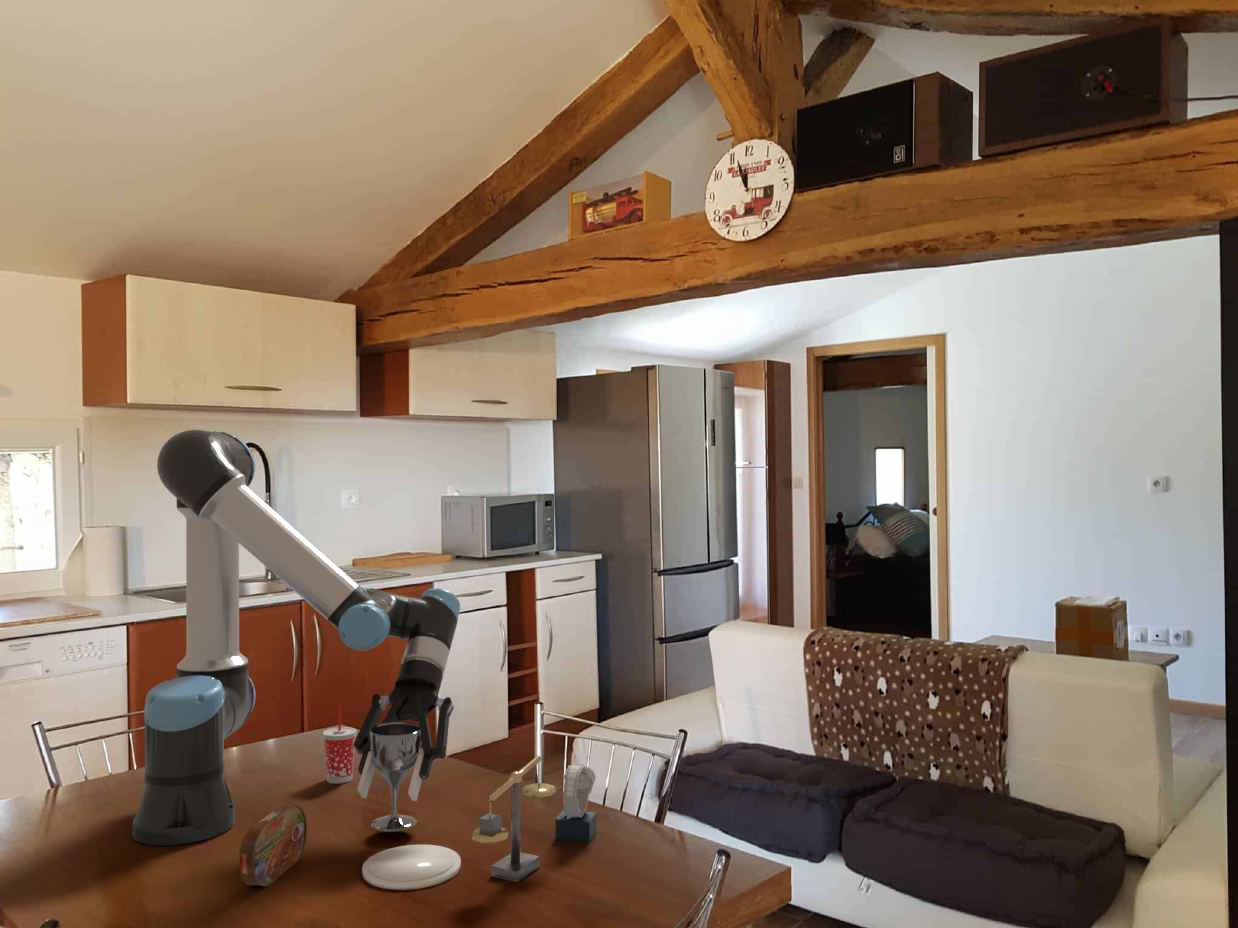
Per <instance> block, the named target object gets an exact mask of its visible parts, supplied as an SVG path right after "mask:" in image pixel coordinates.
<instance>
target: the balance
mask: <svg viewBox="0 0 1238 928" xmlns="http://www.w3.org/2000/svg"><path fill="white" fill-rule="evenodd" d="M541 761H542V756H541V755H536V756H535V757H534V758H533V759H531V760H530V761H529V762H528V763H527V764H526V765H524V766H523V767H522V768H521V769H520V770H518V771H513V772H511V773H510V775H509V779H508V780H506V781H505V782H504V783H503V784H501V786H500V787H498V788H497V789H496V790H495V791H493V793H492V794H490V795H489V796H488V797H487V800H488V802H489V812H488V813H486V814H484V815H483V816H481V817H479V820H478V822H479V823H478V825H479V826H478V828H477V829H474V830H473V831H472V835H471V838H472V840H473V841H475V842H476V843H479V844H496V843H497V844H498V843H501V842H503V841H506V840H507V839H508V838H509V836H510V853H509V854H508V855H506V856H504V857H503V858H502V859H500V860H498V861H497V862H495V863H493V864H492V865H490V866H491V867H490V869H491V870H490V872H491V873H490V874H491V875H490V877H493V878H496V879H500V880H501V879H502V880H505V881H510V882H514V883H518V882H520V881H521V880H523V879H524V878H526V877H527V876H528V875H530V874H531V873H532V872H534V871H536V870H537V869H538V868H540V864H541V863H540V861H541V860H540V858H541V856H539V855H536V854H535V855H534V854H530V853H526V852H525V853H524V852H522V851H521V850H522V849H521V846H522V845H521V843H522V842H521V841H522V839H521V837H522V836H521V834H522V833H521V829H522V828H521V827H522V826H521V822H522V821H521V820H522V819H521V809H522V808H521V807H522V806H521V803H522V802H521V800H522V799H521V797H522V796H521V794H522V795H523V796H525V797H529V798H532V799H533V798H535V799H537V798H538V799H542V798H547V797H551V796H553V795H555V794H556V791H557V789H556V786H555V785H553V784H549V783H544V782H543V783H542V782H541V779H540V776H541V774H540V773H541V771H540V769H541V768H540V767H541V766H540V765H541V764H540V763H541ZM535 766H537V783H530V784H527V785H524V786H523V787H522V785H521V784H522V783H521V782H522V781H523V780H522V779H523V776H524V775H526V774H527V773H528V772H529V771H530V770H532V769H533V768H534V767H535ZM521 787H522V789H521ZM509 789H510V835H509V830H508V829H507V828H505V827H502V825H503V824H502V823H503V822H502V818H503V817H502V815H500V814H495V813H492V803H493V802H495V800H497V799H498V798H499V797H500V796H501V795H503V794H504V793H505V792H506V791H507V790H509ZM521 791H522V792H521Z"/></svg>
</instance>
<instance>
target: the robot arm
mask: <svg viewBox="0 0 1238 928" xmlns="http://www.w3.org/2000/svg"><path fill="white" fill-rule="evenodd" d="M255 462H256V461H255V458H254V455H253V453H252V451H251V450H250V448H249V447H248V445H247V444H246V443H245V442H244V441H242V440H241V439H239V438H238V437H236V436H234V435H232V434H230V433H227V432H224V431H223V432H221V431H215V430H214V431H208V430H207V431H206V430H202V429H201V430H200V429H190V430H189V429H187V430H184V431H181V432H179V433H177V434H174V435H173V436H172V437H170V438H169V439H168V440H167V441H165V443H164V444H163V446H162V447H161V449H160V451H159V454H158V457H157V463H156V466H157V473H158V477H159V480H160V482H161V483H162V484H163V486H164V487H165V488H166V489H167V491H168V492H170V493H171V495H172V496H174V497H175V498H176V509H177V511H178V512H179V513H180V514H182V515H183V516H184V518H185V523H186V525H185V528H186V529H185V531H186V532H185V533H186V534H185V535H186V536H185V538H186V540H185V543H186V544H185V545H186V546H185V547H186V548H185V549H186V552H185V553H186V554H185V555H186V559H185V560H186V566H185V567H186V568H185V569H186V570H185V571H186V573H185V574H186V576H185V579H186V581H185V582H186V583H185V584H186V587H185V588H186V591H185V592H186V595H185V597H186V598H185V599H186V615H185V617H186V619H185V620H186V622H185V623H186V628H185V629H186V631H185V632H186V637H185V638H186V645H185V646H186V651H185V652H186V654H185V656H184V657H183V658H182V659H181V660H180V662H178V663H177V664H176V677H175V678H172V680H165V681H162V682H160V683H158V684H156V685H154V687H152V688H151V689H150V690H149V691H148V692H147V694H146V696H145V706H144V708H143V709H144V711H143V719H144V787H143V791H142V793H141V796H140V800H139V804H138V807H137V810H136V813H135V815H134V817H133V821H132V838H133V839H134V840H135V841H136V842H138V843H141V844H145V845H150V846H176V845H178V846H179V845H184V844H190V843H191V844H192V843H197V842H201V841H204V840H208V839H211V838H214V837H217V836H219V835H221V834H224V833H225V832H227V831H229V830H230V829H231V828H232V827H233V826H234V825H235V823H236V808H235V804H234V803H233V799H232V796H231V793H230V790H229V787H228V785H227V782H226V779H225V775H224V755H225V754H224V753H225V751H224V749H225V748H224V747H225V746H224V744H225V743H224V741H225V740H227V739H228V737H229V736H231V735H233V734H234V733H235V732H237V731H239V730H240V729H241V727H242V726H243V725H245V724H246V722H247V721H248V719H249V717H251V714H252V711H254V706H255V703H256V689H255V685H254V682H253V680H252V678H251V677H250V676H249V659H248V658H247V657H246V656H245V655H243V654H242V653H241V652H240V545H241V546H242V547H243V548H244V549H245V550H246V551H248V552H249V553H250V554H251V555H253V557H254V558H255V559H257V560H258V561H259V562H260V563H261V564H263V565H264V566H265V567H266V568H267V569H268V570H270V571H271V572H272V573H273V574H274V575H276V577H278V579H280V580H281V581H282V582H283V583H285V585H287V586H288V587H289V588H290V589H291V590H292V591H293V592H294V593H296V594H297V595H298V596H299V597H300V598H302V599H303V600H304V601H305V602H307V604H308V605H310V606H311V608H313V609H314V610H315V611H316V612H318V613H319V614H320V615H321V616H322V617H324V618H325V619H326V621H328V622H329V623H330V624H331V625H332V626H333V627H334V628H335V629H337V630H338V634H339V638H340V639H341V641H342V642H343V643H344V644H345V646H347V647H348V648H350V649H352V650H354V651H359V652H360V651H362V652H363V651H369V650H371V649H373V648H376V647H377V646H379V645H380V644H382V643H383V642H384V641H386V639H387V637H393V638H398V639H402V640H407V642H406V646H405V650H404V653H403V656H402V658H401V661H400V662H401V663H400V664H401V665H400V666H399V669H398V673H397V675H396V680H395V681H394V687H393V690H392V691H391V692H390V693H389V695H382V696H380V695H379V693H374V694H373V695H372V697H371V706H370V708H369V710H368V712H367V715H366V716H365V719H364V721H363V723H362V724H361V727H360V729H359V732H358V733H357V734H356V736H355V742H354V749H355V750H356V752H357V754H358V755H361V757H360V761H359V765H358V768H357V769H358V773H359V775H360V780H359V781H358V786H357V792H358V794H359V796H360V797H361V798H362V799H367V797H368V794H369V790H370V786H371V783H372V780H373V777H374V773H375V769H376V767H375V766H374V764H373V761H372V756H371V750H370V729H371V728H372V727H374V726H376V725H379V721H380V720H381V717H382V713H383V711H385V710H386V707H387V706H388V705H391V707H390V709H389V710H388V711H387V714H386V717H384V719H383V720H382V722H381V723H380V724H384V723H392V722H405V721H409V720H410V721H413V722H418V725H419V726H420V727H421V744H422V752H423V753H419V754H418V757H417V760H416V764H415V765H414V767H413V768H414V769H413V772H412V776H411V780H410V783H409V786H408V791H407V793H408V795H409V797H410V800H411V801H412V802H417V801H418V797H419V793H420V789H421V785H422V781H423V780H428V778H429V776H430V772H431V769H432V764H433V761H434V760H436V759H440V760H442V759H445V758H446V756H447V747H448V738H449V737H448V736H449V725H450V716H451V715H452V713H453V711H454V707H455V706H454V704H453V701H452V698H451V697H450V696H447V697H445V698H442V697H441V698H440V697H439V693H440V689H441V686H442V682H443V678H444V674H445V671H446V666H447V662H448V659H449V655H450V652H451V651H450V650H451V647H452V644H453V640H454V636H455V633H456V630H457V625H458V620H459V615H460V610H461V604H460V600H459V599H458V597H457V595H455V594H454V593H453V592H451V591H449V590H447V589H445V588H439V587H436V588H435V589H434V588H428V589H427V590H425V591H424V592H422V594H421V596H420V597H419V598H418V597H412V596H411V597H410V596H407V595H401V594H398V593H397V594H396V593H391V592H387V591H382V590H379V589H376V588H373V587H371V588H367V587H361V585H360V584H359V583H357V582H356V581H355V580H354V579H353V578H352V577H351V576H350V575H349V574H348V573H346V572H345V571H344V570H342V568H340V566H338V565H337V564H336V563H335V562H334V561H333V560H331V559H330V558H329V557H328V556H327V555H326V553H324V552H322V550H320V549H319V548H318V547H317V546H316V545H314V543H312V542H311V541H310V540H309V539H308V538H307V537H305V535H303V534H302V533H301V531H299V530H297V529H296V528H295V527H294V526H293V525H292V524H291V523H289V522H288V520H286V519H285V518H283V516H282V515H280V514H279V513H278V512H277V511H276V510H274V509H273V508H272V507H271V506H270V505H269V504H267V502H265V500H263V498H261V497H260V496H259V495H258V494H256V493H255V492H254V491H253V490H252V489H251V488H250V485H251V483H252V481H253V479H254V477H255V476H254V475H255V472H256V463H255ZM436 707H437V710H438V718H437V719H438V721H437V729H436V741H435V747H433V743H432V742H433V741H432V737H431V736H432V735H431V731H430V730H431V729H430V723H429V717H428V715H429V714H430V713H431V712H432V711H433V710H434V709H436Z"/></svg>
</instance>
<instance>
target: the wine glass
mask: <svg viewBox="0 0 1238 928" xmlns="http://www.w3.org/2000/svg"><path fill="white" fill-rule="evenodd" d="M421 744H422V739H421V727H420V726H419V724H417V723H413V722H405V721H401V722H392V723H384V724H381V723H378V724H377V725H376V726H374V727H372V728H371V729H370V750H371V756H372V761H373V764H374V766H375V769H376V770H377V772H378V773H379V774H380V775H381V776H382V777H383V778H384V779H385V781H386V782H387V783H388V786H389V789H390V794H391V813H390V814H388V815H384V816H380V817H377V818H375V819H374V820H372V822H371V823H370V826H371V828H372V829H374V830H376V831H380V832H399V831H405V830H408V829H411V828H414V827H415V826H416V825H417V823H418V821H417V819H416V818H415V817H413V816H411V815H407V814H398V810H397V809H398V796H399V790H400V787H401V784H402V782H403V781H404V779H406V776H408V775H409V773H410V772H411V771H412V769H413V768H415V764H416V760H417V757H418V754H420V750H421Z"/></svg>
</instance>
